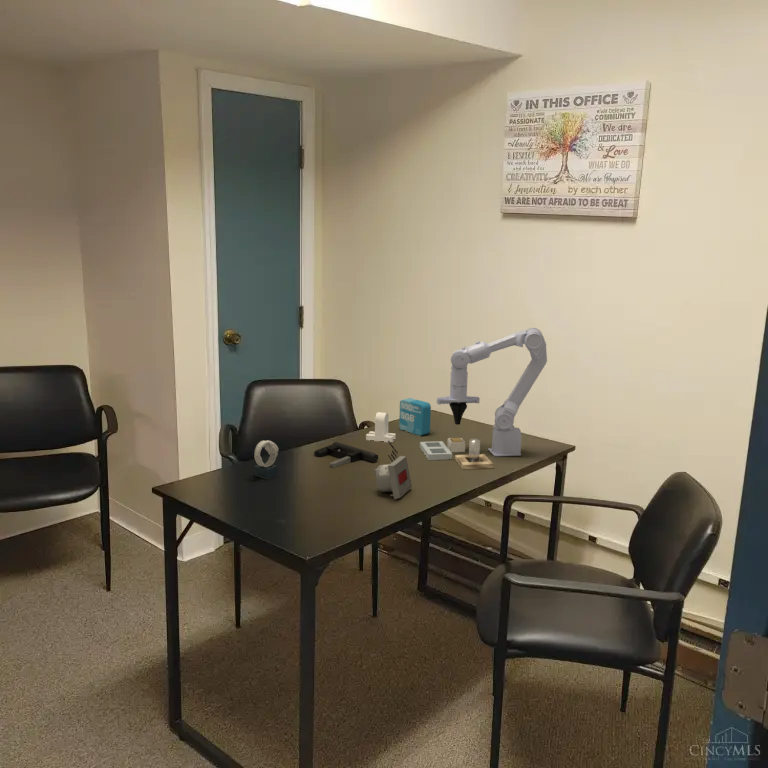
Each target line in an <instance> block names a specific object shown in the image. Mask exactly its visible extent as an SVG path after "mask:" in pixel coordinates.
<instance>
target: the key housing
mask: <svg viewBox="0 0 768 768" xmlns="http://www.w3.org/2000/svg"><path fill="white" fill-rule="evenodd" d="M451 438H452V437H448V438H447V442H446V443H447V445H446V447H447V448H448V449H449V450H450V451H451V453H465V452H466V441H465V440H464V439H463V438H462V437H459V438H460V439H461V440H462V442H452V441H451Z"/></svg>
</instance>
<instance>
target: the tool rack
mask: <svg viewBox="0 0 768 768" xmlns="http://www.w3.org/2000/svg"><path fill="white" fill-rule="evenodd" d="M419 448H421V449H420V450H421V451H422V453H423V452H424V453H423V454H424V455H426V456H425V457H426V458H428V459H427V460H428V461H442V460H443V461H448V460H449V459H450V460H451V459H452V460H453V452H451V451H450V450H449V449H448V448H447V445H446V444H445V443H444V441H442V440H440V441H420V442H419Z"/></svg>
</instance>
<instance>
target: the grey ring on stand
mask: <svg viewBox="0 0 768 768" xmlns="http://www.w3.org/2000/svg"><path fill="white" fill-rule="evenodd" d="M263 448H264V450H265V451H266V452H267V453H268V455H269V457H268V459H267V461H266V462H264V461H263V459H262V456H261V451H262V449H263ZM278 453H279V447H278V445H277V444H276V443H275V442H273V441H272V440H269V439H268V440H260V441H259V442H258V443H257V444H256V446H255V448H254V454H253V455H254V456H253V457H254V459H255V462H256V464H257V465H256V464H255V465H254V466H253V475H254V474H256V475H258V476H262V477H265V478H270V477H273V476H275V475H277V476H278V466H277V465H275V464H274V463H275V461H276V459H277V456H278ZM275 477H276V476H275ZM273 478H274V477H273ZM270 479H271V478H270Z"/></svg>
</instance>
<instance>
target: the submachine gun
mask: <svg viewBox="0 0 768 768" xmlns="http://www.w3.org/2000/svg"><path fill="white" fill-rule="evenodd" d="M313 455H314V457H318V458H322V457H325V456H328V455H329V456H330V457H331V456H332V457H335V458H338V459H337V460H334V461H332V462H331V461H330V462H329V467H330V468H333V469H334V468H338V467H340V466H343V465H346V464H349V463H355V462H357V461H361V460H363V461H364V460H365V461H367V462H370V463H377V462H378V460H379V455H378V454H376V453H375V452H371V451H368V450H365V449H362V448H359V447H355V446H351V445H348V444H346V443H345V444H344V443H342V442H338V441H334V442H333V443H332V444H330V445H327V446H325V447H322V448H319V449H316V450H314V452H313Z"/></svg>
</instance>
